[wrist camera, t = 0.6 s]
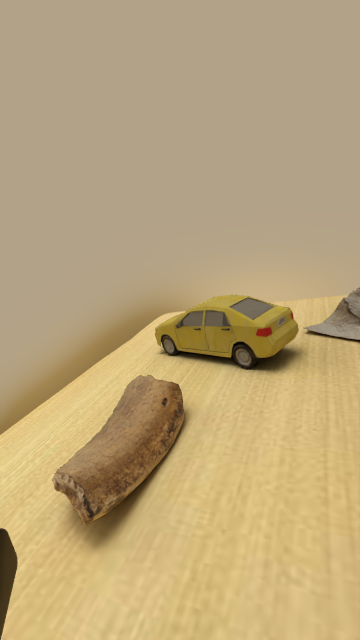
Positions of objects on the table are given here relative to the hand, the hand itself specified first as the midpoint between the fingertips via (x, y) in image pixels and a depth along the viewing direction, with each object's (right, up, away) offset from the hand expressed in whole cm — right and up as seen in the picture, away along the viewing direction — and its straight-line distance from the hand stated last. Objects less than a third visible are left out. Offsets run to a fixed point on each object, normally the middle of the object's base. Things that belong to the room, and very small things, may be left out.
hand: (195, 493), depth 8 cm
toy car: (+7, -2, +52) cm, 53 cm away
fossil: (-7, -11, +29) cm, 32 cm away
